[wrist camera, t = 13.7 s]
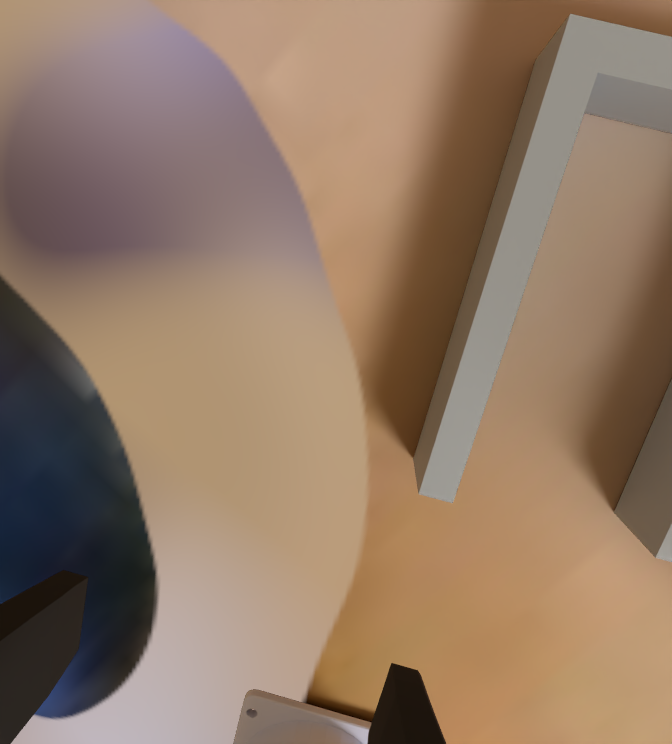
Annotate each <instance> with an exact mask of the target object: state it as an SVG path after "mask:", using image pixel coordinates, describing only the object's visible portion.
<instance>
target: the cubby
mask: <svg viewBox="0 0 672 744" xmlns="http://www.w3.org/2000/svg"><path fill="white" fill-rule="evenodd" d="M584 113H587V114H591V115H596V116H600V117H604V118H608V119H613V120H617V121H621V122H625V123H630V124H634V125H638V126H642V127H647V128H651V129H655V130H659V131H664V132H668V133H672V37H670V36H666V35H661V34H657V33H653V32H648V31H644V30H640V29H635V28H631V27H626V26H622V25H618V24H613V23H609V22H604V21H600V20H596V19H591V18H587V17H582V16H578V15H574V14H570V15H569V16H568V17H567V19H566V20H565V21H564V23H563V24H562V25H561V27H560V28H559V29H558V31H557V32H556V33H555V35H554V36H553V37H552V39H551V40H550V41H549V43H548V44H547V45H546V47H545V48H544V49H543V51H542V52H541V53H540V54H539V56H538V57H537V58H536V60H535V64H534V67H533V70H532V73H531V77H530V80H529V83H528V86H527V90H526V93H525V96H524V100H523V103H522V106H521V109H520V113H519V116H518V119H517V122H516V126H515V129H514V132H513V135H512V139H511V142H510V145H509V148H508V152H507V155H506V158H505V162H504V165H503V168H502V171H501V175H500V178H499V181H498V184H497V188H496V191H495V194H494V197H493V201H492V204H491V207H490V210H489V214H488V217H487V220H486V223H485V227H484V230H483V233H482V237H481V240H480V243H479V246H478V250H477V253H476V256H475V259H474V263H473V266H472V269H471V272H470V276H469V279H468V282H467V285H466V289H465V292H464V295H463V299H462V302H461V305H460V308H459V312H458V315H457V318H456V321H455V325H454V328H453V331H452V334H451V338H450V341H449V344H448V347H447V351H446V354H445V357H444V361H443V364H442V367H441V370H440V374H439V377H438V380H437V383H436V387H435V390H434V393H433V396H432V400H431V403H430V406H429V409H428V413H427V416H426V419H425V423H424V426H423V429H422V432H421V436H420V439H419V442H418V445H417V449H416V452H415V455H414V458H413V460H414V467H415V474H416V480H417V487H418V493H419V494H420V495H424V496H428V497H431V498H435V499H439V500H443V501H446V502H450V503H453V501H454V498H455V495H456V492H457V489H458V486H459V483H460V480H461V477H462V474H463V471H464V468H465V465H466V462H467V459H468V456H469V453H470V451H471V448H472V445H473V442H474V439H475V436H476V433H477V430H478V427H479V424H480V421H481V418H482V415H483V412H484V409H485V406H486V403H487V400H488V397H489V394H490V391H491V388H492V385H493V382H494V379H495V376H496V373H497V370H498V367H499V364H500V361H501V359H502V356H503V353H504V350H505V347H506V344H507V341H508V338H509V335H510V332H511V329H512V326H513V323H514V320H515V317H516V314H517V311H518V308H519V305H520V302H521V299H522V296H523V293H524V290H525V287H526V284H527V281H528V278H529V275H530V272H531V269H532V267H533V264H534V261H535V258H536V255H537V252H538V249H539V246H540V243H541V240H542V237H543V234H544V231H545V228H546V225H547V222H548V219H549V216H550V213H551V210H552V207H553V204H554V201H555V198H556V195H557V192H558V189H559V186H560V183H561V180H562V177H563V175H564V172H565V169H566V166H567V163H568V160H569V157H570V154H571V151H572V148H573V145H574V142H575V139H576V136H577V133H578V130H579V127H580V124H581V121H582V118H583V115H584ZM614 513H615V514H616V515H617V516H618V517H619V519H620V520H621V521H622V522H623V523H624V524H625V525H626V526H627V527H628V528H629V529H630V531H631V532H632V533H633V534H634V535H635V536H636V537H637V538H638V539H639V540H640V541H641V542H642V544H643V545H644V546H645V547H646V548H647V549H648V550H649V551H650V552H651V553H652V554H653V556H654V557H655V558H658V559H662V560H666V561H669V562H672V379H671V381H670V384H669V386H668V388H667V391H666V393H665V395H664V398H663V400H662V402H661V405H660V407H659V409H658V412H657V414H656V416H655V418H654V421H653V423H652V425H651V428H650V430H649V432H648V435H647V437H646V439H645V442H644V444H643V446H642V449H641V451H640V453H639V456H638V458H637V460H636V463H635V465H634V467H633V469H632V472H631V474H630V476H629V479H628V481H627V483H626V486H625V488H624V490H623V493H622V495H621V497H620V500H619V502H618V504H617V507H616V509H615V511H614Z"/></svg>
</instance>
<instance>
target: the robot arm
mask: <svg viewBox="0 0 672 744" xmlns="http://www.w3.org/2000/svg"><path fill="white" fill-rule="evenodd" d="M87 583H88V577H86V576H82V575H79V574H75V573H72V572H68V571H65V570H63V571H61V572H59V573H57V574H55V575H53V576H51V577H50V578H48V579H46V580H44V581H42V582H40V583H39V584H37V585H35V586H33V587H31V588H29V589H28V590H26V591H24V592H22V593H20V594H18V595H17V596H15V597H13V598H11V599H9V600H7V601H6V602H4V603H2V604H0V744H11V742H12V741H13V740H14V738H15V737H16V736H17V735H18V733H19V732H20V731H21V730H22V729H23V727H24V726H25V725H26V724H27V722H28V721H29V720H30V718H31V717H32V716H33V715H34V713H35V712H36V711H37V710H38V708H39V707H40V706H41V705H42V703H43V702H44V701H45V699H46V698H47V697H48V696H49V694H50V693H51V691H52V690H53V688H54V687H55V685H56V683H57V682H58V680H59V679H60V677H61V676H62V674H63V673H64V671H65V670H66V668H67V667H68V665H69V663H70V662H71V660H72V659H73V657H74V655H75V654H76V652H77V651H78V649H79V643H80V635H81V628H82V620H83V613H84V605H85V598H86V590H87ZM252 709H254V710H252ZM233 744H446V742H445V739H444V737H443V734H442V732H441V729H440V727H439V724H438V721H437V719H436V716H435V714H434V711H433V708H432V705H431V703H430V700H429V697H428V694H427V691H426V689H425V686H424V683H423V680H422V677H421V675H420V673H419V671H418V670H414V669H411V668H407V667H404V666H400V665H397V664H393V663H391V666H390V669H389V672H388V675H387V678H386V681H385V684H384V687H383V690H382V693H381V696H380V699H379V702H378V705H377V708H376V711H375V714H374V717H373V720H372V723H371V722H368V721H364V720H361V719H358V718H354V717H351V716H347V715H344V714H340V713H337V712H333V711H330V710H326V709H323V708H319V707H316V706H312V705H309V704H306V703H302V702H299V701H295V700H291V699H288V698H285V697H281V696H278V695H274V694H271V693H267V692H264V691H260V690H255V689H253V690H250V691H248V692H247V694H246V696H245V699H244V703H243V707H242V711H241V715H240V719H239V723H238V727H237V731H236V735H235V739H234V743H233Z"/></svg>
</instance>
